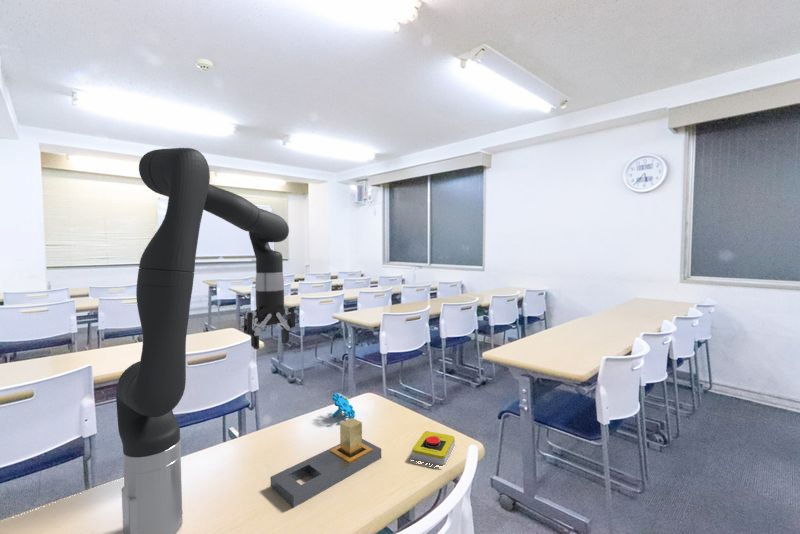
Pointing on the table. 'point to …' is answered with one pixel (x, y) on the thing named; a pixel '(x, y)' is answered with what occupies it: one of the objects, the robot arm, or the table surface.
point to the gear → (343, 406)
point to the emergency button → (433, 449)
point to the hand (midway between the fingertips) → (270, 345)
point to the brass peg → (351, 437)
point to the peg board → (321, 472)
